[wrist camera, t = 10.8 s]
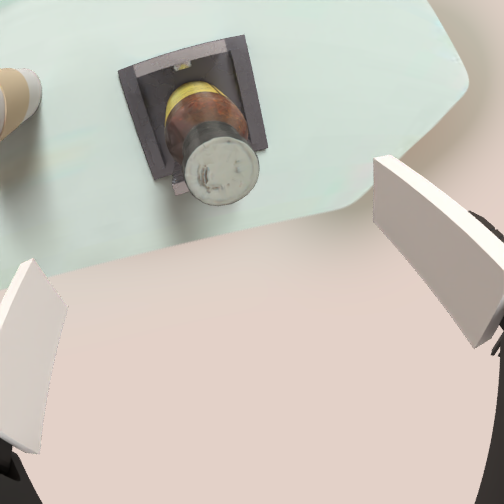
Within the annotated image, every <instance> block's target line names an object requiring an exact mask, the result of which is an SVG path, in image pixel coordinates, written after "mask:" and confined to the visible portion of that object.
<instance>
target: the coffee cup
mask: <svg viewBox="0 0 504 504" xmlns="http://www.w3.org/2000/svg"><path fill="white" fill-rule="evenodd" d="M41 96H42V86H41V82H40V79H39V77H38V76H37V74H36V73H35V72H34V71H32V70H30V69H26V68H23V69H12V68H4V69H0V142H1V141H2V140H3V139H4V138H5V137H6V136H8V135H9V134H10V133H11V132H12V131H14V130H15V129H16V128H17V127H18V126H19V125H20V124H21V123H23V122H24V121H25V120H27V119H28V118H29V117H31V116H32V115H33V114H34V112H35V111H36V109H37V108H38V106H39V103H40V101H41Z"/></svg>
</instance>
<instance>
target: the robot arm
mask: <svg viewBox="0 0 504 504" xmlns="http://www.w3.org/2000/svg"><path fill="white" fill-rule="evenodd" d="M373 167H374V198H373V222H374V223H375V224H376V225H377V226H378V227H379V229H380V230H381V231H382V232H383V233H384V234H385V235H386V236H387V238H388V239H389V240H390V241H391V242H392V243H393V244H394V245H395V247H396V248H397V249H398V250H399V251H400V252H401V254H402V255H403V256H404V257H405V258H406V260H407V261H408V262H409V263H410V264H411V266H412V267H413V268H414V269H415V271H416V272H417V273H418V274H419V275H420V277H421V278H422V279H423V280H424V281H425V283H426V284H427V285H428V287H429V288H430V289H431V291H432V292H433V293H434V294H435V296H436V297H437V298H438V300H439V301H440V302H441V304H442V305H443V306H444V308H445V309H446V310H447V312H448V313H449V314H450V316H451V317H452V318H453V320H454V321H455V322H456V324H457V325H458V327H459V328H460V330H461V331H462V332H463V334H464V335H465V337H466V338H467V340H468V341H469V342H470V344H471V345H472V347H473V348H474V349H475V348H477V347H478V346H480V345H481V344H483V343H484V342H486V341H488V340H489V339H491V338H492V336H493V335H494V333H495V331H496V329H497V328H498V326H499V325H500V326H501V328H502V329H503V330H504V236H503V234H501V233H500V232H499V231H498V230H495V227H494V226H493V225H491V224H490V223H489V222H488V221H487V220H486V219H484V218H483V217H481V216H479V215H477V214H475V213H473V212H471V211H467V210H465V209H464V208H463V207H462V206H460V205H459V204H458V203H457V202H455V201H454V200H453V199H452V198H450V197H449V196H448V195H447V194H445V193H444V192H442V191H441V190H440V189H439V188H437V187H436V186H435V185H433V184H432V183H431V182H429V181H428V180H427V179H425V178H424V177H422V176H421V175H420V174H418V173H417V172H415V171H414V170H413V169H411V168H410V167H408V166H407V165H405V164H404V163H402V162H401V161H399V160H398V159H396V158H395V157H393V156H392V155H386V156H381V157H376V158H373ZM67 310H68V306H67V304H66V303H65V302H64V300H63V299H62V298H61V296H60V295H59V294H58V292H57V291H56V290H55V288H54V287H53V285H52V284H51V283H50V281H49V280H48V278H47V277H46V275H45V274H44V273H43V271H42V270H41V268H40V267H39V265H38V264H37V262H36V261H35V259H34V258H32V259H30V260H27V261H25V262H22V263H21V264H20V266H19V268H18V270H17V272H16V274H15V276H14V277H13V279H12V281H11V283H10V285H9V287H8V289H7V291H6V293H5V296H4V298H3V300H2V302H1V304H0V504H42V502H41V500H40V498H39V496H38V494H37V493H36V491H35V489H34V487H33V485H32V483H31V481H30V479H29V477H28V475H27V473H26V471H25V469H24V467H23V465H22V462H21V460H20V458H19V457H18V455H17V454H16V453H14V452H12V446H14V447H16V448H18V449H20V450H21V451H23V452H25V453H33V454H40V447H41V437H42V428H43V421H44V414H45V407H46V401H47V395H48V389H49V384H50V379H51V374H52V369H53V365H54V360H55V356H56V351H57V347H58V343H59V339H60V335H61V331H62V328H63V324H64V321H65V317H66V314H67ZM499 347H500V353H499V355H498V356H499V357H500V372H499V386H498V397H497V405H496V413H495V420H494V427H493V432H492V438H491V444H490V448H489V453H488V458H487V462H486V466H485V470H484V474H483V478H482V482H481V485H480V488H479V492H478V495H477V498H476V501H475V504H504V332H503V333H502V335H501V337H500V338H499V340H498V341H497V343H496V344H495V346H494V347H493V349H492V353H491V355H495V353H496V352H497V350H498V349H499Z"/></svg>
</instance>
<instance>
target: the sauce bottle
mask: <svg viewBox="0 0 504 504" xmlns="http://www.w3.org/2000/svg"><path fill="white" fill-rule="evenodd" d="M247 140H248V127H247V122H246V120H245V119H244V116H243V114H242V113H241V112H240V110H239V109H238V108H237V107H236V105H235V104H234V103H233V102H232V101H231V100H230V99H229V98H228V97H227V96H225V95H224V94H223V93H222V92H221V91H219V90H218V89H217V88H216V87H215V86H213V85H210V84H208V83H207V82H202V81H192V82H188V83H184V84H183V85H181V86H180V87H178V88H177V89H176V90H175V91H174V92H173V93H172V95H171V96H170V98H169V100H168V102H167V106H166V117H165V141H166V145H167V148H168V150H169V152H170V154H171V156H172V157H173V158H174V160H175V161H176V162H178V163H179V164H180V165H181V166H182V173H183V177H184V180H185V183H186V185H187V187H188V190H189V191H190V192H191V193H192V195H193V196H195V197H196V198H197V199H199V200H200V201H202V202H203V203H206V204H209V205H214V206H221V205H228V204H232V203H234V202H236V201H239V200H240V199H242V198H243V197H245V196H246V195H248V193H249V192H250V191H251V190H252V189H253V188H254V186H255V184H256V182H257V179H258V176H259V161H258V157H257V155H256V153H255V151H254V150H253V148H252V146H251V145H250V144H249V142H248V141H247Z"/></svg>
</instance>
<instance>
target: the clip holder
mask: <svg viewBox="0 0 504 504" xmlns="http://www.w3.org/2000/svg"><path fill="white" fill-rule="evenodd" d="M118 74H119V77H120V80H121V84H122V87H123V90H124V93H125V96H126V99H127V102H128V105H129V109H130V112H131V115H132V118H133V121H134V124H135V126H136V129H137V132H138V135H139V138H140V141H141V144H142V147H143V149H144V152H145V155H146V158H147V161H148V163H149V166H150V169H151V172H152V174H153V177H154V180H156V179H159V178H162V177H165V176H168V175H171V174H173V180H172V187H173V189H174V192H175V195H179V194H183V193H186V192H189V190H188V187H187V185H186V183H185V180H184V177H183V173H182V166H181V165H180V164H179V163H178V162H176V161H175V160H174V158H173V157H172V156H171V154H170V152H169V150H168V148H167V145H166V141H165V117H166V106H167V102H168V100H169V98H170V96H171V95H172V93H173V92H174V91H175V90H176V89H177V88H178V87H180V86H181V85H183V84H184V83H188V82H192V81H202V82H207V83H208V84H210V85H213V86H215V87H216V88H217V89H218V90H219V91H221V92H222V93H223V94H224V95H225V96H227V97H228V98H229V99H230V100H231V101H232V102H233V103H234V104H235V105H236V107H237V108H238V109H239V110H240V112H241V113H242V114H243V116H244V119H245V120H246V122H247V127H248V140H247V141H248V142H249V144H250V145H251V146H252V148H253V150H254V151H257V150H261V149H265V148H268V144H267V139H266V134H265V129H264V124H263V119H262V114H261V109H260V104H259V99H258V95H257V90H256V85H255V80H254V76H253V71H252V66H251V62H250V57H249V53H248V48H247V44H246V40H245V35H240V36H235V37H230V38H225V39H220V40H216V41H211V42H207V43H203V44H199V45H195V46H191V47H188V48H184V49H180V50H177V51H174V52H170V53H167V54H164V55H161V56H158V57H154V58H151V59H149V60H146V61H143V62H140V63H137V64H134V65H132V66H129V67H126V68H124V69H121V70H119V71H118Z"/></svg>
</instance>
